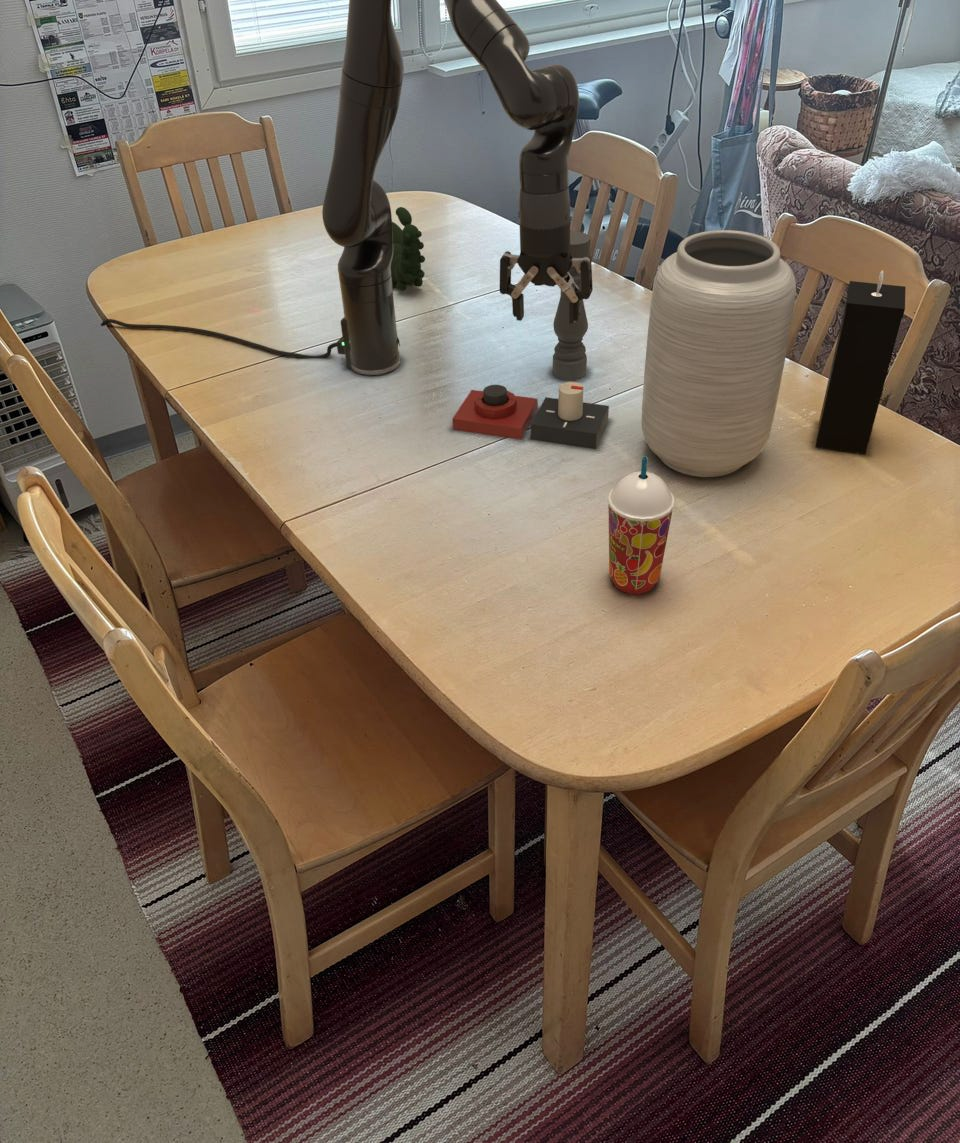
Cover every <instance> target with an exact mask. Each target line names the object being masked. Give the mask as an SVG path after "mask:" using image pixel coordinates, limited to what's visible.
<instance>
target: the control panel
mask: <svg viewBox="0 0 960 1143" xmlns="http://www.w3.org/2000/svg"><path fill="white" fill-rule="evenodd" d="M558 399H559V398H555V397H547V396H545V398H544V399H543V400H542V403H541V405H540V406H539V407H538V410H537V412H536V414H535V415H534V417H533V419H532V421H531V423H530V440H532V441H539V442H545V443H552V444H559V445H565V446H566V445H567V446H571V447H572V446H573V447H579V448H585V449H586V448H587V449H591V450H592V449H594V450H596V449H597V447H598V446H599V443H600V440H601V438H602V436H603V434H604V432H605V429H606V427H607V425H608V423H609V415H610V414H609V412H610V405H606V404H598V403H591V402H584V401H583V414H582V417H581V418H580V419H578V420H574V421H567V420H563V419H561V418H560V417H559V416H558Z"/></svg>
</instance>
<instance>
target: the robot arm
mask: <svg viewBox="0 0 960 1143" xmlns="http://www.w3.org/2000/svg"><path fill="white" fill-rule="evenodd" d="M443 2H444V3H445V4H444V5H445V6H446V7H445V8H446V10H447V14H448V18H449V20H450V24H451V26H452V28H453V31H454V32H455V35H456V37H457V38H458V39H459V41H460V42H461V44H462V45H463V47H464V48H465V49H466V50H467V51H468V52H469V54H470V55H471V56H472V57H473V58H474V60H475V61H476V62H477V63H478V64H479V66H480V67H481V68H482V69H483V70H484V71H485V73H486V74H487V76H488V78H489V80H490V83H491V85H492V88H493V89H494V91H495V94H496V95H497V97H498V99H499V102H500V104H501V106H502V108H503V110H504V111H505V114H506V115H507V117H508V118H509V119H510V120H511V121H512V122H513V124H515V125H517V126H518V127H520V128H521V129H524V130H527V131H534V132H533V135H532V137H531V138H530V139H529V140H528V141H527V142H526V143H525V144H524V145H523V147H522V148H521V149H520V152H519V160H518V161H519V163H518V165H519V166H518V167H519V198H518V220H519V224H518V225H519V252H520V253H519V254H512V252H510V251H508V250H507V251H505V252H504V253H503V254H502V255H501V257H500V259H499V293H500V294H501V295H507V296H509V297H510V298H511V304H512V305H511V306H512V316H513V317H514V318H516V321H519V322H521V321H522V320H523V319H524V316H525V306H524V305H525V301H524V300H525V299H524V297H525V296H524V293H523V291H524V290H525V289H526V288H527V287H528V285H529V284H530V283H532V284H533V285H534V286H537V287H540V286H546V287H551V288H552V287H555V286H558V288H559V290H560V291H561V290H562V292H565V293H566V295H567V296H568V297H569V299H570V302H569V324H574V323H575V321H577V320H578V318H579V316H580V300H582V299H583V300H589V298H590V296H591V294H592V292H593V270H592V269H593V266H592V256H589V255H586V256H584V258H573V257H572V256H571V253H570V232H571V197H570V189H569V154H570V150H571V146H572V142H573V140H574V139H573V138H574V134H575V129H576V124H577V120H578V114H579V106H580V92H579V86H578V83H577V80H576V78H575V75H574V74H573V73H572V71H571V70H570V69H569V68H568V67H567V66H565V65H563V64H559V63H553V64H549V65H546V66H543V67H540V68H536V69H534V70H531V69H530V68H529V67H528V66H527V64H526V63H525V62H526V60H527V58H528V56H529V52H530V46H531V45H530V42H529V39H528V37H527V35H526V33H525V32H524V31H523V30H522V29H521V27H520V26H519V25H518V24H517V23H516V22H515V21H514V19H513V18H512V17H511V16H510V14H509V13H508V12H507V11H506V10H505V8H503V6H502V5H501V4H500V3H499V1H498V0H443ZM347 11H348V13H347V24H346V36H345V46H344V54H343V61H342V67H341V76H340V84H339V85H340V86H339V95H338V96H339V97H338V98H339V99H338V108H337V117H336V126H335V135H334V144H333V145H334V146H333V155H332V160H331V166H330V171H329V176H328V180H327V184H326V189H325V193H324V198H323V202H322V203H323V204H322V212H321V214H322V222H323V226H324V229H325V231H326V233H327V235H328V237H329V238H330V239H331V240H332V241H333V242H334V243H335V244H336V245H338V246H340V247H342V248H343V250H342V252H341V255H340V257H339V260H338V262H337V273H338V279H339V281H338V282H339V287H340V295H341V302H342V310H343V317H342V318H341V320H340V329H341V336H340V338H339V339H338V340H337V341H336V342H333V343H331V344H329V345H328V346H327V348H326V352H325V353H323V354H319V355H310V354H309V355H307V354H303V353H297V352H292V351H285V350H279V349H276V348H272V347H270V346H269V347H268V346H265V345H263V344H259V343H257V342H253V341H249V340H246V339H243V338H239V337H236V336H232V335H229V334H226V333H221V332H218V331H213V330H208V329H204V328H203V329H202V328H197V327H189V326H181V325H168V324H137V323H136V324H135V323H127V322H124V321H120V320H117V319H114V318H106V319H104V320H103V321H102V322H101V323H100V327H104V326H106V325H107V324H115V325H118V326H120V327H123V328H128V329H129V328H130V329H157V330H158V329H159V330H174V331H184V332H185V331H186V332H192V333H198V334H204V335H210V336H214V337H218V338H222V339H226V340H229V341H234V342H237V343H240V344H242V345H246V346H249V347H253V348H255V349H259V350H263V351H266V352H268V353H269V352H270V353H272V354H275V355H280V356H285V357H293V358H298V359H302V360H303V359H307V360H308V359H310V360H311V359H327V358H328V357H330V356H331V355H332V349H334V348H336V349H337V354H338V355H344V358H345V364H346V365H345V366H346V369H350V370H352V371H353V372H354V373H356V374H359V375H364V376H380V375H385V374H388V373H390V372H392V371H395V370H396V369H397V368H398V367H399V366H400V365H401V356H400V349H399V348H400V346H401V345H400V339H399V336H398V330H397V319H396V308H395V299H394V298H395V297H394V290H393V289H394V288H392V278H391V262H392V258H393V232H392V222H393V217H392V209H391V203H390V199H389V198H388V195H387V193H386V191H385V190H384V188H383V187H382V186H381V184H380V183H379V182H377V180H374V177H375V173H376V168H377V166H378V162H379V160H380V157H381V155H382V153H383V150H384V149H385V146H386V144H387V141H388V139H389V138H390V135H391V132H392V130H393V127H394V124H395V121H396V118H397V115H398V111H399V106H400V101H401V94H402V87H403V82H404V70H405V66H404V58H403V53H402V50H401V46H400V43H399V39H398V36H397V32H396V30H395V27H394V26H395V25H394V23H393V18H392V17H393V16H392V0H348V10H347ZM516 264H517V266H518V267H519V268H520V270H521V271H522V272H523V273H524V274H523V275H522V277H521V278H520V280H519V281H518V282H517V284H512V270H513V269H514V268H515V266H516ZM572 266H573V267H575V268H576V271H577V272H578V273H579V274H581V289H579V288H578V286H577V285H576V284H575V282H574V279H573V278H572V276H571V275H570V273H569V272H568V271H569V270H570V269H571V267H572Z"/></svg>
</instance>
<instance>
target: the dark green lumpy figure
mask: <svg viewBox="0 0 960 1143" xmlns="http://www.w3.org/2000/svg"><path fill="white" fill-rule="evenodd" d="M395 215H396V216H397V218H398V221H399V223H400V224H401V225H402V226H403V228H401V226H399V225H398V224H397V222H394V221H392V232H393V258H392V262H391V278H392V288H393V289H394V288H397V290H398V291H401V292H402V291H405V290H406V289H407V286H410V285H413V286H415V287H417V288H419V287H422V286H423V282H424V281H423V278H424V277H425V275H426V274H425V272H424V270H423V269H422V264H423V263H425V261H426V257H425V256H424V255H423V254H422V253H421V251H420V250H423V249H424V247H425V244H424V242H422V241H421V240H420V238H421V237H422V235H423V233H422V231H421V230H420V229H419V228H418V227H417V226H416V225H414V224H412V222H413V218H412V214H411V213H410V211H409V210H408V209H406V207H403V206H400V207H397V208H396V209H395Z"/></svg>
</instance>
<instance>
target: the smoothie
mask: <svg viewBox="0 0 960 1143" xmlns="http://www.w3.org/2000/svg"><path fill="white" fill-rule="evenodd" d="M648 459H649V458H648V456H642V457H641V468H640V470H638V471H634V472H633V471H632V472H630V473H628V474H626V475H625V476H623V477H621V478H620V479H619V481H618V482H617V483H616V484H615V486H614V487H613V488H612V489H611V490H610V491H609V493H608V496H607V502H608V507H607V508H608V562H609V563H608V574H609V577H610V579H611V580H612V582H613V585H614V586H615V587H616V588H617V589H618V590H620V591H621V592H624V593H627V594H631V595H638V594H639V595H641V594H645V593H647V592H649V591H651V590H652V589H653V588H654V586H655V585H656V584H657V583H658V582H659V580H660V577H661V572H662V568H663V562H664V556H665V552H666V546H667V541H668V537H669V532H670V531H669V530H670V526H671V520H672V515H673V509H674V507H675V501H676V500H675V497H674V495H673V493H672V492H671V491H670V488H669V486H668V484H667V483H666V481H665V480H663V479H662V477H660V476H659V475H657V474H656V473H653V472H651V471H647V469H648Z"/></svg>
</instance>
